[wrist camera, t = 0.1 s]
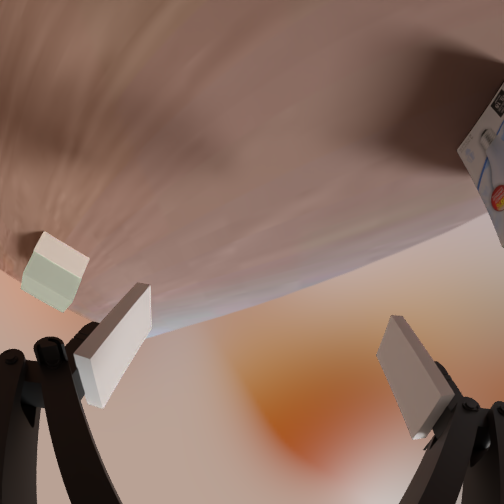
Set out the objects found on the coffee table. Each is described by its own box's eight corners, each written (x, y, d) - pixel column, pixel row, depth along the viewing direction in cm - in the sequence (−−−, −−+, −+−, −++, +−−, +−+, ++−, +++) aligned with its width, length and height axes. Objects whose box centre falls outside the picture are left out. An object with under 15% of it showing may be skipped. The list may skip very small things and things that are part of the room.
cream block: (38, 250, 44) (29, 268, 42) (44, 229, 39) (33, 250, 36) (78, 273, 49) (70, 292, 47) (90, 256, 43) (81, 278, 41)
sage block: (29, 269, 42) (20, 288, 40) (34, 250, 37) (23, 273, 34) (70, 293, 47) (63, 312, 44) (81, 279, 41) (72, 301, 39)
